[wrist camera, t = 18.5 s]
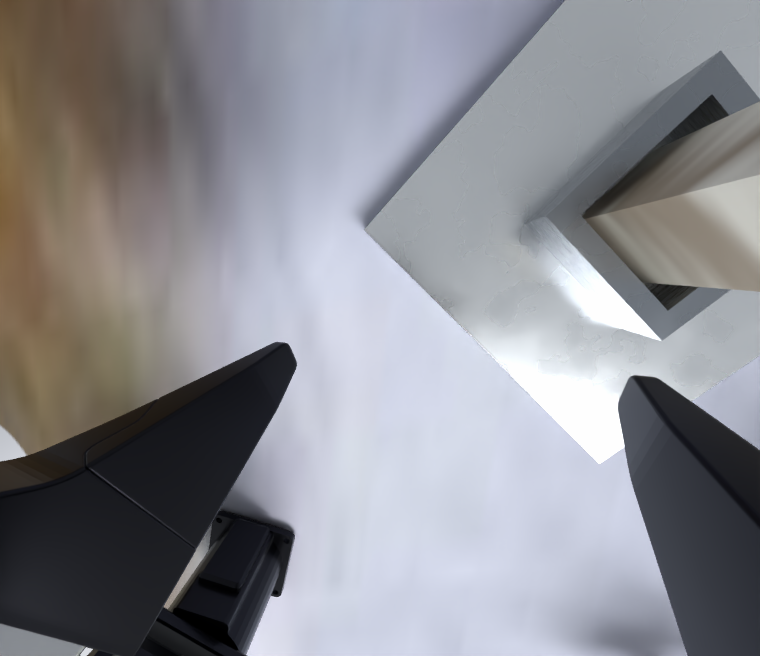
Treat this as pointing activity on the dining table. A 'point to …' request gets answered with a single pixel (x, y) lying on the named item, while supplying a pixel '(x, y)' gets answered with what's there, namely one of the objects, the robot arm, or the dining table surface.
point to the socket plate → (581, 208)
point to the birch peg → (691, 209)
